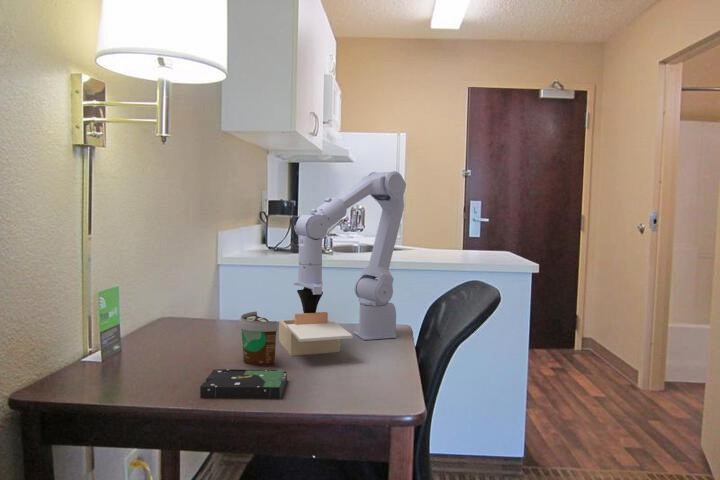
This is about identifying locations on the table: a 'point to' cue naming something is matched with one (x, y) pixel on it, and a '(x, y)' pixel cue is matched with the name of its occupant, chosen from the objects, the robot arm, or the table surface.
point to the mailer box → (304, 342)
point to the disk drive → (244, 384)
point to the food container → (258, 339)
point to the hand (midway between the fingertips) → (309, 318)
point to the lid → (316, 327)
